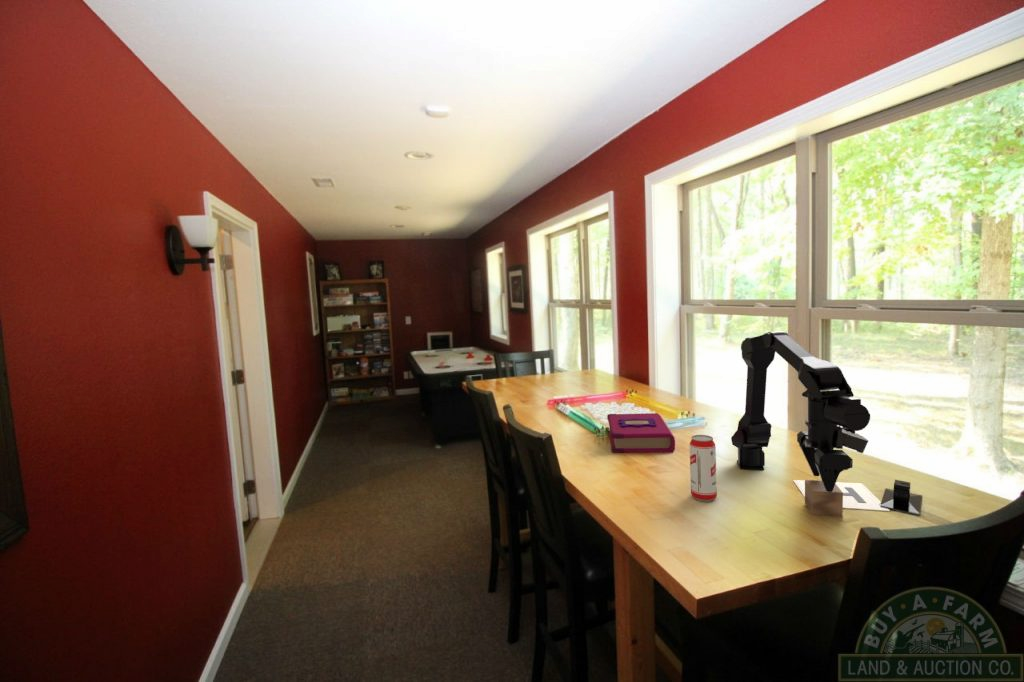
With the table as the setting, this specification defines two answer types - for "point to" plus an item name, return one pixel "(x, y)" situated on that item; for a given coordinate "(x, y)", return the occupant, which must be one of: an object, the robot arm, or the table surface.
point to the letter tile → (852, 496)
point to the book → (640, 434)
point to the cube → (823, 499)
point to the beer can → (703, 468)
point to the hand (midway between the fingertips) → (822, 483)
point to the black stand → (901, 498)
